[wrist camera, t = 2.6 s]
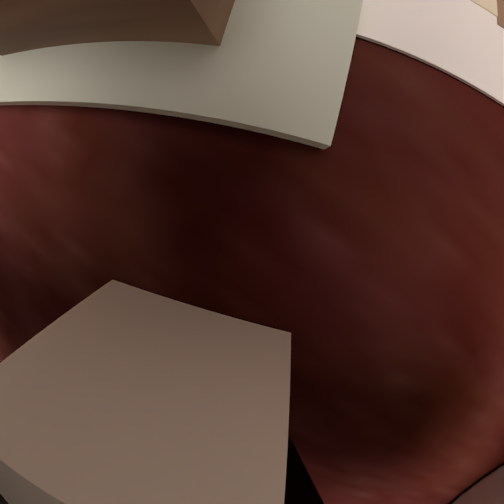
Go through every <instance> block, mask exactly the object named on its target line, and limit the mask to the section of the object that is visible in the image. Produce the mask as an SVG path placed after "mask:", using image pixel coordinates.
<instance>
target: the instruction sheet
mask: <svg viewBox="0 0 504 504" xmlns="http://www.w3.org/2000/svg"><path fill="white" fill-rule="evenodd" d="M356 37H359V38H362V39H365V40H368V41H371V42H374V43H376V44H379V45H382V46H385V47H387V48H390V49H393V50H395V51H398V52H400V53H403V54H405V55H408V56H410V57H412V58H415V59H417V60H419V61H421V62H424V63H426V64H428V65H430V66H432V67H434V68H436V69H439V70H441V71H443V72H445V73H447V74H449V75H451V76H452V77H454V78H456V79H458V80H460V81H462V82H464V83H466V84H467V85H469V86H471V87H473V88H474V89H476V90H478V91H480V92H481V93H483V94H485V95H486V96H488V97H490V98H491V99H493V100H494V101H496V102H498V103H499V104H501V105H502V106H504V0H363V2H362V8H361V13H360V18H359V23H358V28H357V33H356Z"/></svg>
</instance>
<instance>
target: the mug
mask: <svg viewBox="0 0 504 504" xmlns="http://www.w3.org/2000/svg"><path fill="white" fill-rule="evenodd" d="M452 504H504V465H502V466H501V467H499V468H498V469H496V470H495V471H493V472H492V473H490V474H489V475H487V476H486V477H484V478H483V479H482V480H480V481H479V482H477V483H476V484H475V485H473V486H472V487H471V488H470V489H468V490H467V491H466V492H464V493H463V494H462V495H461V496H460V497H459V498H457V499H456V500H455V501H454V502H453V503H452Z"/></svg>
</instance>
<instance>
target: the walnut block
mask: <svg viewBox="0 0 504 504" xmlns="http://www.w3.org/2000/svg"><path fill="white" fill-rule="evenodd" d="M234 2H235V0H0V55H2V56H4V55H8V54H13V53H18V52H23V51H28V50H34V49H40V48H46V47H53V46H61V45H70V44H81V43H93V42H113V41H160V42H180V43H194V44H204V45H214V46H220V45H221V42H222V38H223V35H224V32H225V29H226V26H227V23H228V20H229V17H230V14H231V11H232V8H233V5H234Z"/></svg>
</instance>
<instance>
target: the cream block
mask: <svg viewBox="0 0 504 504" xmlns="http://www.w3.org/2000/svg"><path fill="white" fill-rule="evenodd" d="M290 368H291V333H290V332H286V331H282V330H278V329H274V328H270V327H267V326H263V325H259V324H255V323H252V322H248V321H244V320H241V319H237V318H233V317H230V316H226V315H223V314H219V313H216V312H213V311H209V310H206V309H202V308H199V307H196V306H192V305H189V304H186V303H183V302H179V301H176V300H173V299H170V298H167V297H164V296H161V295H157V294H154V293H151V292H148V291H145V290H142V289H139V288H136V287H133V286H130V285H127V284H125V283H122V282H119V281H116V280H113V279H112V280H111V281H110V282H108V283H107V284H105V285H104V286H102V287H101V288H100V289H98V290H97V291H95V292H94V293H92V294H91V295H90V296H88V297H87V298H85V299H84V300H83V301H81V302H80V303H78V304H77V305H76V306H74V307H73V308H72V309H70V310H69V311H67V312H66V313H65V314H63V315H62V316H61V317H59V318H58V319H57V320H55V321H54V322H53V323H51V324H50V325H49V326H47V327H46V328H45V329H43V330H42V331H41V332H39V333H38V334H37V335H35V336H34V337H33V338H31V339H30V340H29V341H28V342H26V343H25V344H24V345H22V346H21V347H20V348H19V349H17V350H16V351H15V352H13V353H12V354H11V355H10V356H8V357H7V358H6V359H5V360H3V361H2V362H1V363H0V494H1V495H2V496H3V497H4V499H5V500H6V501H7V502H8V503H9V504H284V498H285V483H286V467H287V449H288V428H289V402H290Z"/></svg>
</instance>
